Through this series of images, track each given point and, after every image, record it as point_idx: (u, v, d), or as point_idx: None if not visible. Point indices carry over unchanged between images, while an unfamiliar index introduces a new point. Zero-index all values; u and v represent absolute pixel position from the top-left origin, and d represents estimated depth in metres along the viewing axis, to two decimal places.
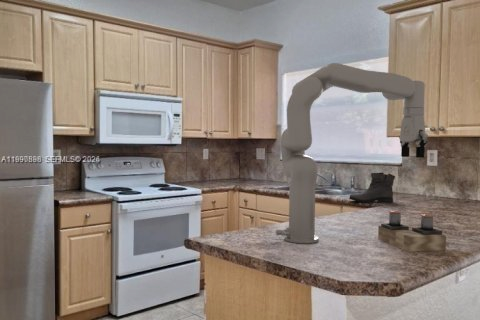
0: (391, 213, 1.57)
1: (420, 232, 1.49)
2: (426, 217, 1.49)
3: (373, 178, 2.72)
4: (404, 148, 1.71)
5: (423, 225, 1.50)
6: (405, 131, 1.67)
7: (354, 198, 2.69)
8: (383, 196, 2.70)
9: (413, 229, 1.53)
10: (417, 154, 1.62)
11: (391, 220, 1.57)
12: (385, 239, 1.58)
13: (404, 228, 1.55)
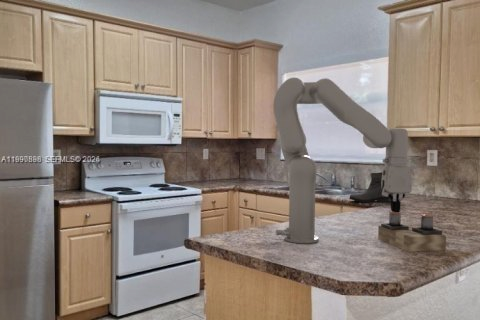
0: (391, 213, 1.57)
1: (420, 232, 1.49)
2: (426, 217, 1.49)
3: (373, 178, 2.72)
4: None
5: (423, 225, 1.50)
6: (398, 182, 1.55)
7: (354, 198, 2.69)
8: (383, 196, 2.71)
9: (413, 229, 1.53)
10: None
11: (391, 220, 1.57)
12: (385, 239, 1.58)
13: (404, 228, 1.55)
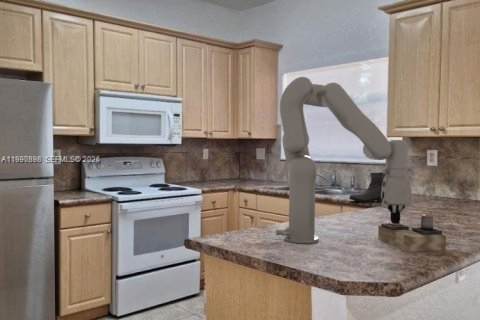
0: (391, 225, 1.57)
1: (420, 232, 1.49)
2: (426, 217, 1.49)
3: (373, 178, 2.73)
4: None
5: (423, 225, 1.50)
6: (397, 193, 1.55)
7: (355, 198, 2.69)
8: None
9: (413, 229, 1.53)
10: None
11: None
12: (385, 239, 1.58)
13: (404, 228, 1.55)
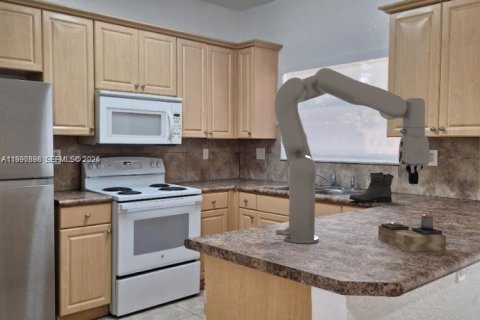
0: (391, 225, 1.57)
1: (420, 232, 1.49)
2: (426, 217, 1.49)
3: (372, 178, 2.73)
4: None
5: (423, 225, 1.50)
6: (416, 152, 1.51)
7: (355, 198, 2.69)
8: (382, 196, 2.71)
9: (413, 229, 1.53)
10: None
11: None
12: (385, 239, 1.58)
13: (404, 228, 1.55)
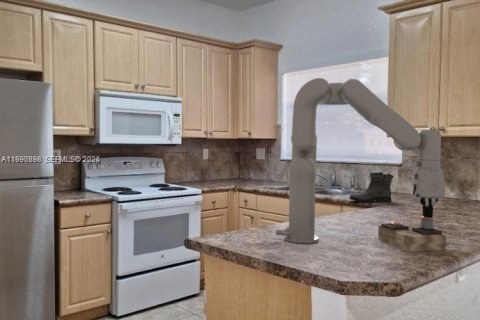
0: (391, 225, 1.57)
1: (420, 232, 1.49)
2: (426, 219, 1.49)
3: (372, 178, 2.73)
4: None
5: (423, 228, 1.50)
6: (431, 186, 1.48)
7: (355, 198, 2.69)
8: (382, 196, 2.72)
9: (413, 229, 1.53)
10: None
11: None
12: (385, 239, 1.58)
13: (404, 228, 1.55)
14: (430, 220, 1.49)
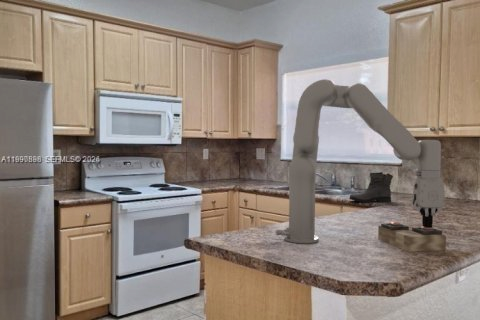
0: (391, 225, 1.57)
1: (420, 232, 1.49)
2: (426, 229, 1.49)
3: (372, 178, 2.74)
4: None
5: None
6: (430, 196, 1.48)
7: (355, 198, 2.69)
8: (382, 196, 2.72)
9: (413, 229, 1.53)
10: None
11: None
12: (385, 239, 1.58)
13: (404, 228, 1.55)
14: (430, 230, 1.49)
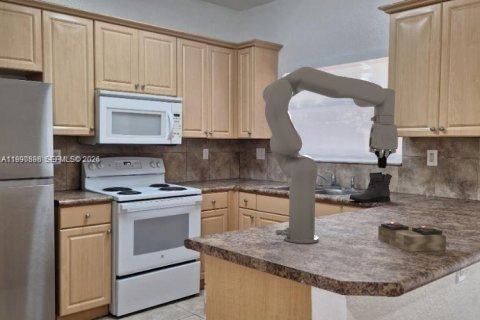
0: (391, 225, 1.57)
1: (420, 232, 1.49)
2: (426, 229, 1.49)
3: (372, 178, 2.74)
4: None
5: None
6: (384, 139, 1.63)
7: (355, 198, 2.69)
8: (382, 195, 2.73)
9: (413, 229, 1.53)
10: None
11: None
12: (385, 239, 1.58)
13: (404, 228, 1.55)
14: (430, 230, 1.49)
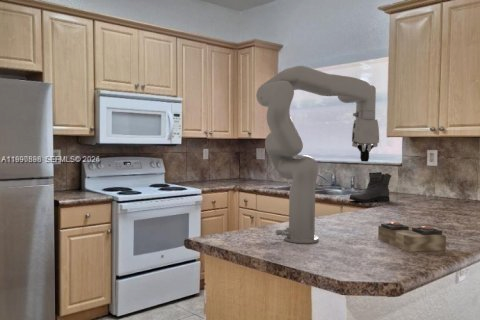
0: (391, 225, 1.57)
1: (420, 232, 1.49)
2: (426, 229, 1.49)
3: (371, 178, 2.75)
4: None
5: None
6: (366, 133, 1.71)
7: (356, 198, 2.69)
8: (381, 195, 2.74)
9: (413, 229, 1.53)
10: None
11: None
12: (385, 239, 1.58)
13: (404, 228, 1.55)
14: (430, 230, 1.49)
